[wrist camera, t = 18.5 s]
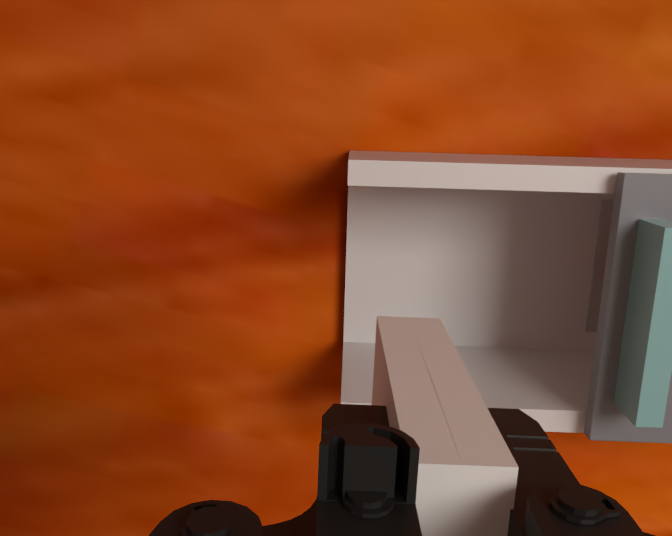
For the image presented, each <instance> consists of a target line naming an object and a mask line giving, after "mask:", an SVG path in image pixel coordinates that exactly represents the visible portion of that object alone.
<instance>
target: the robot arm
mask: <svg viewBox="0 0 672 536" xmlns="http://www.w3.org/2000/svg"><path fill="white" fill-rule="evenodd" d="M149 536H654V535H651V534H647V533H644V532H642V530H641V529H640V528H639V526H638V525H637V524H636V522H635V521H634V520H633V518H632V517H631V516H630V514H629V513H628V512H627V511H626V510H625V509H624V508H623V507H622V506H621V505H620V504H619V503H618V502H617V501H616V500H614V499H613V498H611V497H609V496H607V495H605V494H604V493H602V492H600V491H598V490H595V489H592V488H589V487H586V486H583V485H580V483H579V482H578V481H577V479H576V478H575V476H574V475H573V473H572V472H571V470H570V469H569V467H568V466H567V464H566V463H565V461H564V460H563V458H562V457H561V455H560V454H559V452H556V448H555V446H554V445H553V443H552V442H551V440H548V436H547V435H546V433H545V432H544V430H543V429H542V427H541V426H540V424H539V423H538V422H537V421H536V420H534V419H533V418H531V417H530V416H528V415H527V414H525V413H524V412H522V411H521V410H520V409H508V408H487V407H486V405H485V403H484V401H483V399H482V397H481V395H480V393H479V391H478V389H477V388H476V386H475V384H474V382H473V380H472V378H471V376H470V374H469V372H468V371H467V369H466V367H465V365H464V363H463V361H462V359H461V357H460V355H459V353H458V352H457V350H456V348H455V346H454V344H453V342H452V340H451V338H450V336H449V335H448V333H447V331H446V329H445V327H444V325H443V323H442V321H441V319H440V318H416V317H391V316H377V322H376V339H375V357H374V374H373V391H372V405H354V404H333V405H332V406H331V407H330V408H329V409H328V410H327V412H326V413H325V414H324V415H323V416H322V434H321V442H320V444H319V470H318V495H317V499H316V501H315V502H314V503H313V505H312V506H311V508H309V509H308V510H307V511H305V512H304V513H303V514H302V515H299V516H297V517H295V518H293V519H291V520H288V521H285V522H281V523H277V524H272V525H267V526H262V524H261V522H260V519H259V517H258V516H257V515H256V514H255V513H254V512H253V511H251V510H250V509H249V508H248V507H246V506H243V505H240V504H237V503H234V502H231V501H218V500H209V501H201V502H197V503H191V504H189V505H186V506H184V507H182V508H179V509H177V510H175V511H173V512H172V513H171V514H169V515H168V516H167V517H166V518H164V519H163V520H162V521H161V522H160V523H159V524H158V525H157V526H156V527H155V529H154V530H153V531H152V532H151V533H150V535H149Z"/></svg>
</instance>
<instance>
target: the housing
mask: <svg viewBox="0 0 672 536" xmlns="http://www.w3.org/2000/svg"><path fill="white" fill-rule="evenodd" d="M617 172H624V173H658V174H672V160H659V159H625V158H590V157H556V156H521V155H486V154H452V153H417V152H383V151H349V158H348V184H347V186H348V209H347V240H346V272H345V303H344V335H343V360H342V383H341V404H354V405H372V391H373V374H374V357H375V339H376V322H377V316H391V317H416V318H440V319H441V321H442V323H443V325H444V327H445V329H446V331H447V333H448V335H449V336H450V338H451V340H452V342H453V344H454V346H455V348H456V350H457V352H458V353H459V355H460V357H461V359H462V361H463V363H464V365H465V367H466V369H467V371H468V372H469V374H470V376H471V378H472V380H473V382H474V384H475V386H476V388H477V389H478V391H479V393H480V395H481V397H482V399H483V401H484V403H485V405H486V407H487V408H508V409H520V410H521V411H522V412H524V413H525V414H527V415H528V416H530V417H531V418H533V419H534V420H536V421H537V422H538V423H539V424H540V426H541V427H542V429H543V430H544V432H570V433H584V427H585V419H586V412H587V404H588V396H589V388H590V381H591V373H592V365H593V358H594V350H595V342H596V334H597V327H598V319H599V311H600V303H601V296H602V288H603V280H604V273H605V265H606V257H607V249H608V242H609V234H610V226H611V219H612V211H613V203H614V195H615V188H616V180H617Z"/></svg>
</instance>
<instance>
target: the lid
mask: <svg viewBox="0 0 672 536" xmlns="http://www.w3.org/2000/svg"><path fill="white" fill-rule="evenodd" d="M584 433H585V434H586V436H587V437H588V438H589V440H602V441H628V442H654V443H672V174H658V173H624V172H617V180H616V188H615V195H614V203H613V211H612V219H611V226H610V234H609V242H608V249H607V257H606V265H605V273H604V280H603V288H602V296H601V303H600V311H599V319H598V327H597V334H596V342H595V350H594V358H593V365H592V373H591V381H590V388H589V396H588V404H587V412H586V419H585V427H584Z"/></svg>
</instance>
